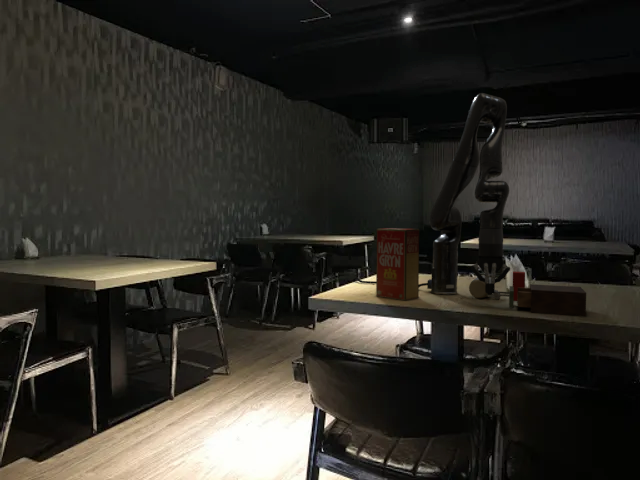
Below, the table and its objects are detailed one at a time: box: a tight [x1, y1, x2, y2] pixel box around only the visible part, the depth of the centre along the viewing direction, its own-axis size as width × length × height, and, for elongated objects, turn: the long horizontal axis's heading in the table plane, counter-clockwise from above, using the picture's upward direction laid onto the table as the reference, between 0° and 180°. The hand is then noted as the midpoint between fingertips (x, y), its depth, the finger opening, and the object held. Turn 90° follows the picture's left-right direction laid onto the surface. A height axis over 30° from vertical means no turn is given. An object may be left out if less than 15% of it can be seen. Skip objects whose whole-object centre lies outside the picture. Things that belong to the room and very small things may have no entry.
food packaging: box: [375, 227, 420, 302], centre depth 178 cm, size 13×9×25 cm
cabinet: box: [529, 283, 587, 317], centre depth 156 cm, size 15×13×7 cm
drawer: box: [492, 285, 531, 309], centre depth 159 cm, size 19×11×5 cm, turn 69°
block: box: [511, 270, 526, 302], centre depth 173 cm, size 4×4×10 cm
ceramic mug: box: [468, 274, 502, 300], centre depth 178 cm, size 11×8×8 cm
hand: (489, 294), depth 161 cm, fingers closed
